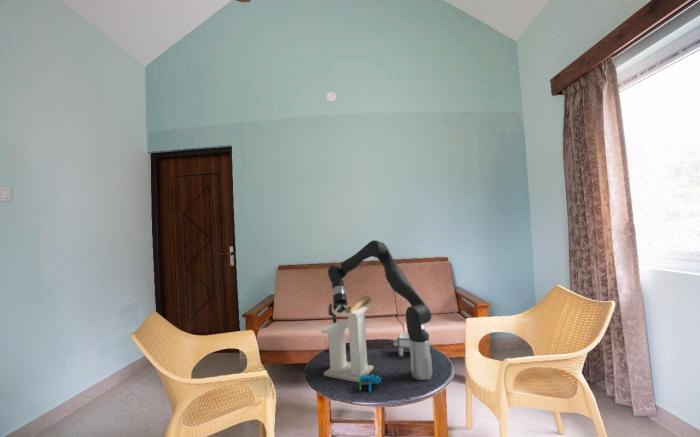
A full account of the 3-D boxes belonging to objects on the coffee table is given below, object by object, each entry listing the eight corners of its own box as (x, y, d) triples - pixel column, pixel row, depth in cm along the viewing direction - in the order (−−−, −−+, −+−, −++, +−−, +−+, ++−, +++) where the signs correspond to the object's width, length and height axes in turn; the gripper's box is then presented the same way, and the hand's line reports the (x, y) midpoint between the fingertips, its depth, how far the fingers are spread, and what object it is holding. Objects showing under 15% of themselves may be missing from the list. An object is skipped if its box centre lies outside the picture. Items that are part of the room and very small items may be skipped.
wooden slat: (372, 300, 167) (372, 295, 167) (351, 313, 145) (351, 306, 145) (367, 300, 168) (367, 295, 169) (345, 312, 146) (345, 306, 146)
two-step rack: (373, 368, 157) (369, 305, 158) (360, 382, 143) (356, 313, 144) (339, 362, 166) (336, 302, 167) (323, 375, 152) (320, 310, 153)
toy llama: (395, 351, 177) (392, 316, 178) (426, 352, 173) (423, 316, 174) (394, 356, 169) (391, 320, 170) (426, 357, 166) (424, 320, 167)
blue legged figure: (383, 380, 140) (377, 372, 134) (383, 394, 136) (377, 386, 130) (360, 381, 143) (353, 373, 137) (360, 395, 139) (353, 387, 133)
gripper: (329, 291, 170) (332, 318, 159) (353, 293, 175) (357, 319, 163) (325, 298, 175) (328, 325, 163) (348, 300, 179) (352, 326, 168)
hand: (342, 322), depth 163 cm, fingers open, 8 cm apart
